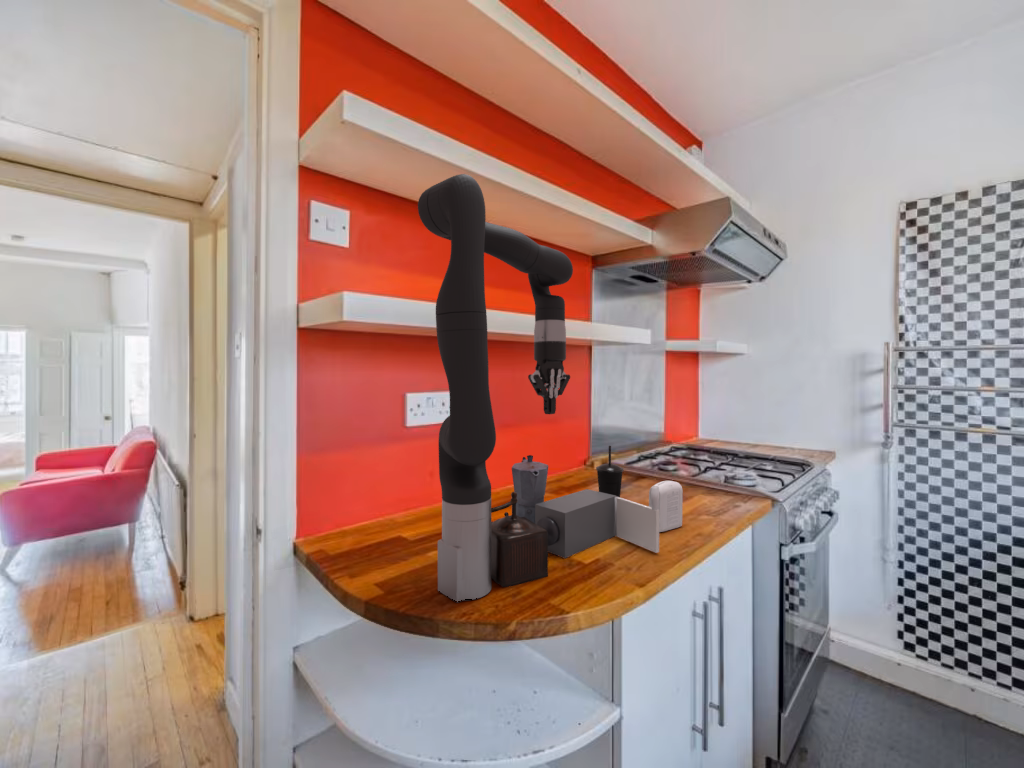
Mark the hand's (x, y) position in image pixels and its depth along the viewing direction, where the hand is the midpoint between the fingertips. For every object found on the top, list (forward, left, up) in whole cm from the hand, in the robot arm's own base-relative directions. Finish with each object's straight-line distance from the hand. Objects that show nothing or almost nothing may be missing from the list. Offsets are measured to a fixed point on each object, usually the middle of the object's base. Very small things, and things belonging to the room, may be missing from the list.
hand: (549, 413), depth 105 cm
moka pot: (+2, +9, -31) cm, 33 cm away
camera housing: (+6, -4, -31) cm, 32 cm away
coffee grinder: (-19, -4, -31) cm, 37 cm away
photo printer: (+30, -14, -31) cm, 45 cm away
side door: (+14, -15, -30) cm, 37 cm away
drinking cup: (+28, +2, -31) cm, 42 cm away
